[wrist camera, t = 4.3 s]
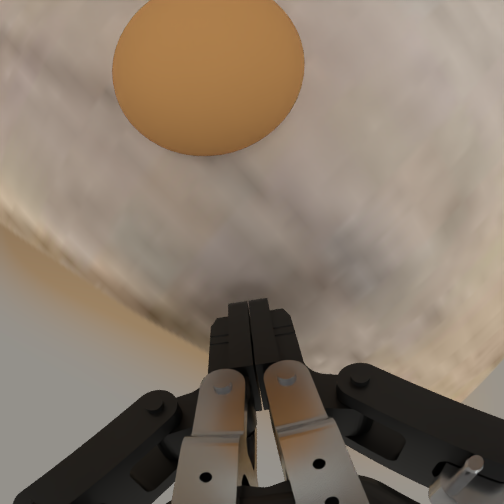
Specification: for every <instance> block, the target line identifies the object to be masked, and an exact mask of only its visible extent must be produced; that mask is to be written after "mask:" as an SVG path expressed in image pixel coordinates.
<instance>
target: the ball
mask: <svg viewBox="0 0 504 504" xmlns="http://www.w3.org/2000/svg"><path fill="white" fill-rule="evenodd" d="M112 75H113V85H114V89H115V94H116V97H117V100H118V102H119V105H120V107H121V109H122V111H123V113H124V114H125V116H126V117H127V119H128V120H129V121H130V123H131V124H132V125H133V126H134V127H135V128H136V129H137V130H138V131H139V132H140V133H141V134H142V135H144V136H145V137H146V138H148V139H149V140H150V141H152V142H154V143H156V144H157V145H159V146H161V147H163V148H166V149H168V150H171V151H174V152H178V153H181V154H186V155H193V156H214V155H222V154H227V153H231V152H235V151H238V150H240V149H243V148H246V147H248V146H250V145H252V144H254V143H256V142H258V141H259V140H261V139H262V138H264V137H265V136H267V135H268V134H269V133H270V132H272V131H273V130H274V129H275V128H276V127H277V126H278V125H279V124H280V123H281V122H282V121H283V120H284V119H285V117H286V116H287V115H288V113H289V112H290V110H291V109H292V107H293V105H294V103H295V101H296V100H297V97H298V95H299V92H300V89H301V85H302V81H303V76H304V52H303V47H302V43H301V40H300V37H299V35H298V32H297V30H296V28H295V26H294V25H293V23H292V21H291V19H290V18H289V17H288V15H287V14H286V13H285V12H284V10H283V9H282V8H281V7H280V6H279V5H278V4H276V3H275V2H274V1H273V0H150V1H149V2H148V3H146V4H145V5H144V6H143V7H142V8H141V9H140V10H139V11H138V12H137V13H136V14H135V15H134V16H133V17H132V19H131V20H130V21H129V23H128V24H127V26H126V27H125V29H124V31H123V33H122V34H121V36H120V38H119V41H118V44H117V46H116V49H115V54H114V58H113V68H112Z"/></svg>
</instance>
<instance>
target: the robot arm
mask: <svg viewBox="0 0 504 504" xmlns="http://www.w3.org/2000/svg"><path fill="white" fill-rule="evenodd" d="M249 310H250V314H249ZM210 337H211V338H210V349H209V365H208V366H209V367H208V375H207V376H206V377H204V379H203V380H202V382H201V385H200V388H199V389H197V390H196V391H194V392H192V393H189V394H186V395H183V396H180V397H177V398H175V396H174V395H173V394H172V393H170V392H168V391H164V390H155V391H151V392H149V393H146V394H145V395H143V396H142V397H141V398H139V399H138V400H137V401H136V402H135V403H133V404H132V405H131V406H130V407H129V408H127V409H126V410H125V411H124V412H123V413H121V414H120V415H119V416H118V417H117V418H115V419H114V420H113V421H112V422H110V423H109V424H108V425H107V426H105V427H104V428H103V429H102V430H101V431H100V432H98V433H97V434H96V435H94V436H93V437H92V438H91V439H89V440H88V441H87V442H86V443H84V444H83V445H82V446H81V447H79V448H78V449H77V450H76V451H74V452H73V453H72V454H71V455H69V456H68V457H67V458H65V459H64V460H63V461H61V462H60V463H59V464H58V465H56V466H55V467H54V468H52V469H51V470H50V471H48V472H47V473H46V474H44V475H43V476H42V477H40V478H39V479H38V480H37V481H35V482H34V483H32V484H31V485H30V486H28V487H27V488H26V489H24V490H23V491H22V492H21V493H19V494H18V495H17V496H16V498H15V500H14V502H13V504H152V503H153V502H154V501H155V500H156V499H157V498H158V497H159V496H160V495H161V494H162V493H163V492H164V491H165V490H167V489H168V488H169V487H170V486H171V485H172V484H173V483H174V482H175V484H174V490H173V496H172V500H171V501H169V502H168V503H166V504H420V503H418V502H416V501H414V500H412V499H410V498H409V497H407V496H405V495H403V494H401V493H399V492H397V491H396V490H394V489H392V488H390V487H388V486H387V485H385V484H383V483H381V482H379V481H377V480H375V479H372V478H369V477H365V476H360V475H358V474H357V472H356V470H355V467H354V465H353V462H352V460H351V458H350V455H349V453H348V450H347V448H346V445H347V446H349V447H350V448H352V449H354V450H356V451H358V452H359V453H361V454H363V455H365V456H367V457H368V458H370V459H372V460H374V461H376V462H377V463H379V464H381V465H383V466H385V467H387V468H389V469H391V470H393V471H395V472H397V473H399V474H401V475H403V476H405V477H407V478H409V479H411V480H413V481H415V482H418V483H419V484H422V485H424V486H426V487H428V488H429V491H428V496H429V499H430V502H431V503H432V504H504V420H503V419H501V418H498V417H495V416H493V415H490V414H487V413H485V412H482V411H479V410H477V409H474V408H472V407H469V406H467V405H464V404H462V403H459V402H457V401H454V400H452V399H449V398H447V397H444V396H442V395H439V394H437V393H435V392H432V391H430V390H427V389H425V388H423V387H420V386H418V385H416V384H413V383H411V382H409V381H406V380H404V379H402V378H400V377H397V376H395V375H393V374H390V373H388V372H386V371H384V370H381V369H379V368H377V367H375V366H373V365H370V364H366V363H355V364H351V365H348V366H346V367H345V368H343V369H342V370H341V371H340V372H339V374H338V375H332V374H321V373H317V372H314V371H312V370H311V369H309V368H308V367H307V366H306V365H305V363H304V361H303V358H302V355H301V351H300V348H299V344H298V341H297V337H296V334H295V330H294V327H293V323H292V320H291V316H290V315H289V314H288V313H287V312H286V311H285V310H284V309H283V308H282V309H276V310H269V305H268V300H267V298H263V299H257V300H250V301H249V308H248V303H247V301H244V302H237V303H230V304H229V305H228V317H222V318H217V319H216V320H215V322H214V323H213V325H212V326H211V335H210ZM260 391H261V396H260ZM261 397H262V402H263V407H264V410H267V409H269V412H270V418H271V423H272V428H273V433H274V437H275V441H276V445H277V449H278V454H279V458H280V461H281V466H282V469H283V474H284V479H285V481H284V482H281V483H278V484H276V485H273V486H270V487H265V488H264V487H258V480H257V428H256V425H257V420H256V411H261V410H262V406H261V405H262V404H261Z"/></svg>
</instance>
